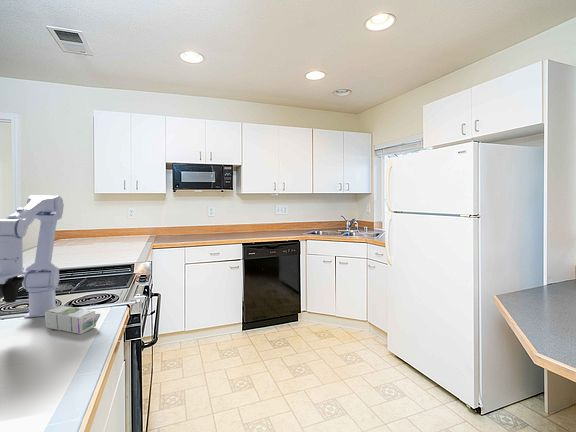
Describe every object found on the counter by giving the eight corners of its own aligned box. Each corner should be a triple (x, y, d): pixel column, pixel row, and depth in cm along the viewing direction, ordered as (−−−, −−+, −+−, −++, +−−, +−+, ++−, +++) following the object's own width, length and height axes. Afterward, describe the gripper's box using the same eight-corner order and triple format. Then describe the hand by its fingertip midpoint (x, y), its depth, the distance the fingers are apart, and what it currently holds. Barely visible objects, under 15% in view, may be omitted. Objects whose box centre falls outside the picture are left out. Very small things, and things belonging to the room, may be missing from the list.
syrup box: (45, 328, 102) (81, 335, 98) (44, 310, 101) (80, 317, 98) (61, 320, 107) (96, 327, 104) (60, 303, 106) (96, 310, 103)
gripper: (16, 261, 91) (17, 307, 91) (35, 254, 104) (35, 294, 105) (-15, 262, 88) (-15, 310, 88) (8, 254, 101) (8, 296, 102)
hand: (10, 302), depth 96 cm, fingers closed
